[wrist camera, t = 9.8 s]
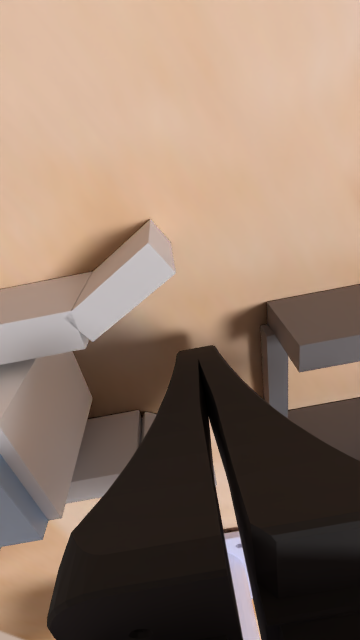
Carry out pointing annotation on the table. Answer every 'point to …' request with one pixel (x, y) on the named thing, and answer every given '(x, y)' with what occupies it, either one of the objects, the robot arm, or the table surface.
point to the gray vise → (314, 359)
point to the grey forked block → (77, 329)
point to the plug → (38, 441)
